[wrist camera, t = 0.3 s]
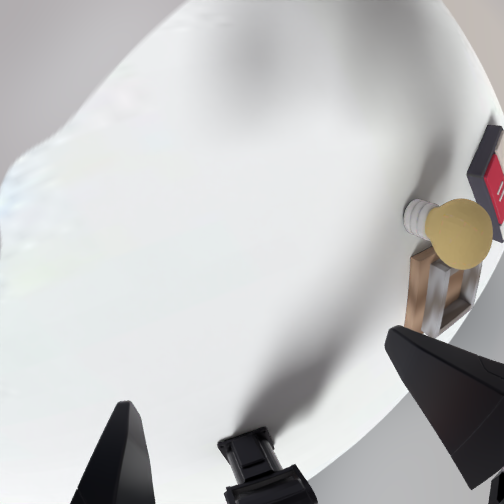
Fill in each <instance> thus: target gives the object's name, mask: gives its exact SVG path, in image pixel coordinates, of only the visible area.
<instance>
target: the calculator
mask: <svg viewBox="0 0 504 504" xmlns="http://www.w3.org/2000/svg"><path fill="white" fill-rule="evenodd" d="M467 178H468V180H469V183H470V186H471V188H472V191H473V194H474V197H475V199H476V202H477V203H478V204H479V205H480V206H481V207H483V208H484V209H485V210H486V212H487V213H488V215H489V216H490V219H491V222H492V227H493V238H492V239H493V240H495V241H498V242H501V243H503V242H504V130H503V128H502V126H496V125H487V128H486V130H485V133H484V135H483V138H482V140H481V142H480V145H479V147H478V149H477V152H476V154H475V156H474V158H473V160H472V163H471V165H470V167H469V169H468V171H467Z"/></svg>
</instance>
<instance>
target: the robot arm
mask: <svg viewBox="0 0 504 504" xmlns="http://www.w3.org/2000/svg"><path fill="white" fill-rule="evenodd" d="M385 350H386V352H387V354H388V356H389V357H390V359H391V361H392V363H393V365H394V367H395V369H396V370H397V372H398V374H399V376H400V378H401V380H402V381H403V383H404V384H405V386H406V387H407V389H408V390H409V392H410V393H411V394H412V396H413V398H414V399H415V401H416V402H417V404H418V405H419V407H420V408H421V410H422V411H423V413H424V414H425V416H426V417H427V419H428V421H429V422H430V424H431V425H432V427H433V428H434V430H435V431H436V433H437V435H438V436H439V438H440V439H441V441H442V443H443V444H444V446H445V447H446V449H447V451H448V452H449V454H450V455H451V457H452V459H453V461H454V462H455V464H456V466H457V467H458V469H459V471H460V472H461V474H462V476H463V478H464V479H465V481H466V483H467V485H468V486H469V488H470V489H471V490H472V489H474V488H476V487H477V486H478V485H480V484H481V483H483V482H484V481H486V480H487V479H488V478H489V477H491V476H492V475H493V474H495V473H496V472H498V471H499V470H500V469H501V471H500V472H499V473H498V474H497V475H496V476H495V477H494V479H493V480H492V481H491V489H490V496H489V503H488V504H504V364H502V363H499V362H496V361H493V360H490V359H487V358H484V357H482V356H478V355H476V354H474V353H471V352H468V351H466V350H463V349H460V348H458V347H455V346H452V345H450V344H447V343H445V342H442V341H439V340H437V339H434V338H432V337H429V336H426V335H424V334H421V333H419V332H416V331H414V330H411V329H408V328H406V327H403V326H400V325H397V326H394V327H392V328H390V329H389V331H388V334H387V338H386V341H385ZM217 446H218V449H219V450H220V451H221V453H222V454H223V456H224V457H225V459H226V460H227V461H228V463H229V464H230V465H231V468H232V470H233V473H234V475H235V478H236V481H237V483H238V485H235V486H231V487H230V486H229V487H226V490H227V491H226V492H225V493H224V496H225V498H226V501H227V504H318V501H317V498H316V496H315V493H314V492H313V490H312V488H311V486H310V485H309V484H308V482H307V480H306V479H305V478H304V476H303V475H302V473H301V472H300V470H299V469H298V467H297V466H296V464H294V465H291V466H290V467H288V468H285V469H283V468H282V466H281V465H280V463H279V461H278V459H277V457H276V455H275V453H274V451H273V450H274V446H273V443H272V440H271V438H270V435H269V432H268V429H267V428H266V427H263V428H260V429H258V430H255V431H252V432H250V433H247V434H244V435H241V436H239V437H236V438H233V439H230V440H227V441H224V442H221V443H218V444H217ZM77 488H78V489H76V492H75V494H74V496H73V498H72V501H71V503H70V504H155V497H154V490H153V483H152V474H151V466H150V459H149V454H148V450H147V445H146V441H145V436H144V431H143V425H142V420H141V417H140V414H139V413H138V411H137V410H136V408H135V407H134V405H133V403H132V402H131V401H120V402H118V403H117V405H116V407H115V409H114V411H113V413H112V415H111V417H110V419H109V421H108V423H107V425H106V427H105V429H104V431H103V433H102V435H101V437H100V439H99V441H98V443H97V446H96V448H95V450H94V452H93V454H92V456H91V458H90V460H89V463H88V465H87V467H86V469H85V471H84V474H83V476H82V478H81V480H80V483H79V485H78V487H77Z"/></svg>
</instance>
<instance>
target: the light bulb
mask: <svg viewBox="0 0 504 504" xmlns="http://www.w3.org/2000/svg"><path fill="white" fill-rule="evenodd" d="M404 226H405V228H406V230H407V231H408V232H409V233H411V234H413V235H416V236H418V237H421V238H423V239H425V240H430V241H431V243H432V246H433V248H434V250H435V252H436V253H437V255H438V256H439V258H440V259H441V260H442V261H443V262H444V263H445V264H447V265H448V266H450V267H452V268H455V269H461V270H466V269H471V268H473V267H475V266H477V265H478V264H480V263H481V262H482V261H483V260H484V259H485V257H486V256H487V254H488V252H489V250H490V247H491V244H492V238H493V227H492V222H491V219H490V216H489V215H488V213H487V212H486V210H485V209H484V208H483V207H481V206H480V205H479V204H478V203H476V202H474V201H471V200H468V199H454V200H451V201H449V202H447V203H445V204H443V205H442V206H440V207H439V206H438V205H437V204H434V203H430V202H427V201H423V200H420V199H415V200H413V201H411V202H410V204H409V205H408V206H407V208H406V210H405V213H404Z"/></svg>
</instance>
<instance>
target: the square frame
mask: <svg viewBox="0 0 504 504" xmlns="http://www.w3.org/2000/svg"><path fill="white" fill-rule="evenodd" d="M482 262H483V261H482ZM482 262H481V263H480V264H478V265H477V266H475V267H473V268H471V269H466V270H461V269H455V268H452V267H450V266H448V265H447V264H445V263H444V262H443V261H442V260H441V259H440V258H439V256H438V255H437V253H436V252H435V250H434V248H433V246H432V247H430V248H428V249H426V250H424V251H422V252H420V253H418V254H416V255H414V256H412V257H411V262H410V277H409V290H408V300H407V309H406V317H405V325H404V327H406V328H408V329H411V330H414V331H416V332H419V333H421V334H423V333H425V334H427V335H428V336H429V337H432V338H434V339H435V338H436V337H438V336H439V335H440V334H441V333H443V332H444V331H445V330H447V329H448V328H449V327H450V326H452V325H453V324H454V323H455V322H456V321H458V320H459V319H460V318H461V317H462V316H464V315H465V314H466V313H467V312H468V311H469V310H471V309H472V308H473V306H474V302H475V297H476V293H477V288H478V283H479V278H480V273H481V267H482Z"/></svg>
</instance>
